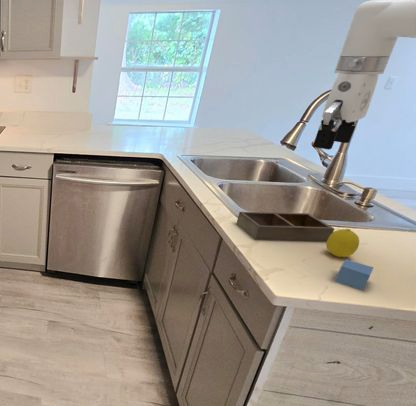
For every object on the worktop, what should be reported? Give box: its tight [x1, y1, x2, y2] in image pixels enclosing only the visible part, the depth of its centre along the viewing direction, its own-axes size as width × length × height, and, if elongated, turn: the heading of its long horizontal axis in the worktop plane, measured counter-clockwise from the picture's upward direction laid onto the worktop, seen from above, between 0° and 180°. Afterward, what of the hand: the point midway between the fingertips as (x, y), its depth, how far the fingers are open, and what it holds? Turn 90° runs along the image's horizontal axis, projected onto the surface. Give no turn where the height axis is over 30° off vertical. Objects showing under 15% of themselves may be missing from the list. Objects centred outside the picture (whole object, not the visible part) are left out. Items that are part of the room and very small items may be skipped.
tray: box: [235, 211, 335, 243], centre depth 102 cm, size 10×18×4 cm, turn 83°
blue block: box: [334, 258, 375, 292], centre depth 80 cm, size 4×4×4 cm
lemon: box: [325, 228, 360, 258], centre depth 90 cm, size 6×6×8 cm
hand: (330, 144), depth 84 cm, fingers open, 9 cm apart
